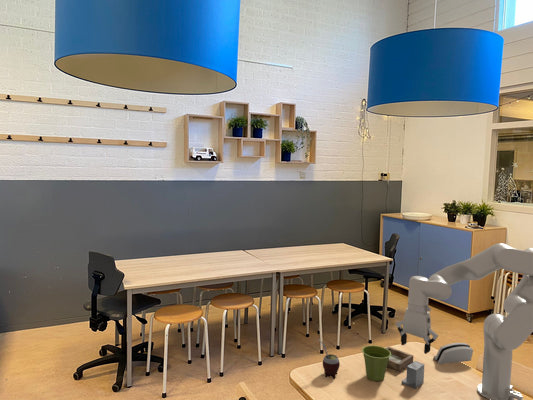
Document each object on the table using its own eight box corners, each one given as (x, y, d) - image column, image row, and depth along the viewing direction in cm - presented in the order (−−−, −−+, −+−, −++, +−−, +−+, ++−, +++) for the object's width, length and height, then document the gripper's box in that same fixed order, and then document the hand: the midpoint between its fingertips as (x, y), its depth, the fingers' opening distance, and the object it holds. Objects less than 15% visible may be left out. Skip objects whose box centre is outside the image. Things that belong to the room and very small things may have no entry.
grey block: (423, 382, 165) (424, 364, 164) (415, 389, 160) (416, 370, 159) (409, 377, 169) (410, 359, 168) (401, 383, 164) (402, 364, 163)
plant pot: (391, 386, 162) (392, 359, 161) (361, 382, 164) (362, 356, 163) (388, 371, 173) (389, 346, 172) (360, 368, 176) (361, 343, 175)
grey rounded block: (463, 355, 189) (469, 339, 185) (470, 363, 185) (476, 346, 181) (432, 358, 185) (437, 342, 181) (438, 367, 181) (444, 350, 177)
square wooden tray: (413, 363, 181) (413, 355, 181) (399, 372, 172) (399, 364, 172) (388, 353, 190) (388, 346, 190) (374, 362, 181) (374, 354, 181)
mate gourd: (342, 377, 168) (343, 342, 167) (327, 381, 165) (328, 346, 164) (331, 369, 175) (332, 335, 174) (316, 373, 171) (317, 339, 170)
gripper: (443, 311, 157) (440, 353, 159) (402, 299, 170) (399, 338, 171) (435, 315, 152) (431, 359, 154) (393, 303, 165) (390, 343, 166)
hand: (415, 348), depth 162 cm, fingers open, 9 cm apart
